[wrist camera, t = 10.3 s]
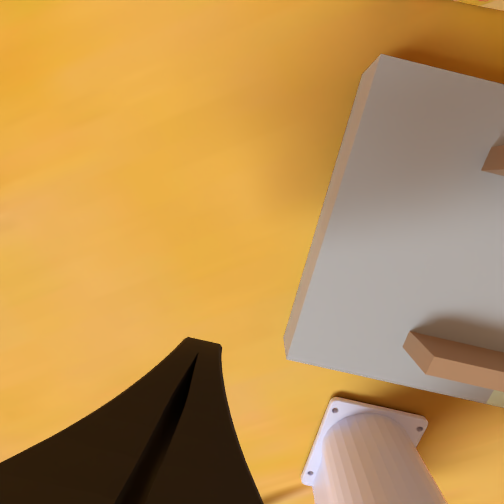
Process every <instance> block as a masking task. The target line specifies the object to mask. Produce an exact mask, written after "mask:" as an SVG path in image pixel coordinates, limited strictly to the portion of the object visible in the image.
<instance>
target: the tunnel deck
mask: <svg viewBox="0 0 504 504" xmlns="http://www.w3.org/2000/svg"><path fill="white" fill-rule="evenodd" d="M284 345H285V353H286V359H287V360H292V361H296V362H301V363H305V364H310V365H314V366H319V367H323V368H328V369H332V370H337V371H341V372H346V373H350V374H354V375H359V376H363V377H368V378H372V379H377V380H381V381H386V382H390V383H395V384H399V385H404V386H408V387H413V388H417V389H422V390H426V391H431V392H435V393H439V394H444V395H448V396H453V397H457V398H462V399H466V400H471V401H475V402H480V403H484V404H489V405H493V406H498V407H502V408H504V84H501V83H497V82H493V81H489V80H484V79H480V78H476V77H472V76H468V75H464V74H460V73H456V72H452V71H448V70H444V69H440V68H436V67H432V66H428V65H424V64H420V63H416V62H412V61H408V60H404V59H400V58H396V57H392V56H388V55H384V54H380V55H379V57H378V58H377V59H376V60H375V61H374V62H373V63H372V64H371V65H370V66H369V67H368V68H367V69H366V71H365V72H364V73H363V74H362V77H361V80H360V83H359V87H358V90H357V93H356V97H355V100H354V103H353V107H352V110H351V114H350V117H349V120H348V124H347V127H346V130H345V134H344V137H343V140H342V144H341V147H340V150H339V154H338V157H337V160H336V164H335V167H334V170H333V174H332V177H331V181H330V184H329V187H328V191H327V194H326V197H325V201H324V204H323V207H322V211H321V214H320V217H319V221H318V224H317V227H316V231H315V234H314V237H313V241H312V244H311V247H310V251H309V254H308V258H307V261H306V264H305V268H304V271H303V274H302V278H301V281H300V284H299V288H298V291H297V294H296V298H295V301H294V304H293V308H292V311H291V314H290V318H289V321H288V324H287V328H286V331H285V335H284Z"/></svg>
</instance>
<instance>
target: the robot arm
mask: <svg viewBox="0 0 504 504" xmlns="http://www.w3.org/2000/svg"><path fill="white" fill-rule="evenodd" d="M221 353H222V347H221V345H220V344H217V343H212V342H208V341H203V340H199V339H195V338H190V337H187V338H185V339H184V340H183V341H182V342H181V343H180V344H179V345H178V346H177V347H176V348H175V349H174V350H173V351H172V352H171V353H170V354H169V355H168V356H167V357H166V358H165V359H164V360H162V361H161V362H160V363H159V364H158V365H157V366H155V367H154V368H153V369H152V370H151V371H150V372H148V373H147V374H146V375H145V376H143V377H142V378H141V379H140V380H138V381H137V382H136V383H134V384H133V385H132V386H130V387H129V388H128V389H127V390H125V391H124V392H122V393H121V394H120V395H118V396H117V397H115V398H114V399H112V400H111V401H109V402H108V403H106V404H105V405H103V406H102V407H100V408H99V409H97V410H96V411H94V412H93V413H91V414H89V415H88V416H86V417H84V418H83V419H81V420H79V421H78V422H76V423H74V424H73V425H71V426H69V427H68V428H66V429H64V430H62V431H61V432H59V433H57V434H55V435H53V436H52V437H50V438H48V439H46V440H44V441H42V442H40V443H38V444H36V445H34V446H32V447H30V448H28V449H26V450H25V451H23V452H21V453H19V454H17V455H15V456H13V457H11V458H9V459H7V460H5V461H3V462H1V463H0V504H264V503H263V501H262V499H261V497H260V494H259V492H258V489H257V487H256V485H255V482H254V480H253V478H252V475H251V473H250V471H249V468H248V466H247V463H246V461H245V458H244V455H243V452H242V450H241V447H240V444H239V441H238V438H237V435H236V432H235V428H234V425H233V422H232V418H231V414H230V410H229V406H228V402H227V397H226V392H225V386H224V380H223V373H222V362H221ZM333 408H336V409H333ZM427 426H428V421H427V419H426V418H425V417H424V416H421V415H416V414H412V413H407V412H403V411H398V410H394V409H389V408H385V407H380V406H376V405H371V404H367V403H362V402H358V401H353V400H349V399H344V398H340V397H334V398H332V399H331V400H330V402H329V405H328V407H327V410H326V412H325V415H324V418H323V420H322V423H321V425H320V428H319V431H318V433H317V436H316V439H315V441H314V444H313V446H312V449H311V452H310V454H309V457H308V459H307V462H306V465H305V467H304V470H303V472H302V475H301V481H302V483H303V484H305V485H308V486H312V487H313V494H314V500H315V504H448V503H447V502H446V500H445V498H444V496H443V495H442V493H441V491H440V489H439V488H438V486H437V484H436V482H435V481H434V479H433V477H432V475H431V474H430V472H429V470H428V468H427V467H426V465H425V463H424V461H423V460H422V458H421V456H420V454H419V453H418V451H417V449H416V447H417V445H418V443H419V441H420V439H421V437H422V435H423V433H424V432H425V430H426V428H427Z"/></svg>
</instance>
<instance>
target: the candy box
mask: <svg viewBox="0 0 504 504" xmlns="http://www.w3.org/2000/svg"><path fill="white" fill-rule="evenodd" d="M453 1H458V2H462V3H466V4H472V5H477V6H482V7H487V8H492V9H497V10H502V11H504V0H453Z"/></svg>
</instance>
